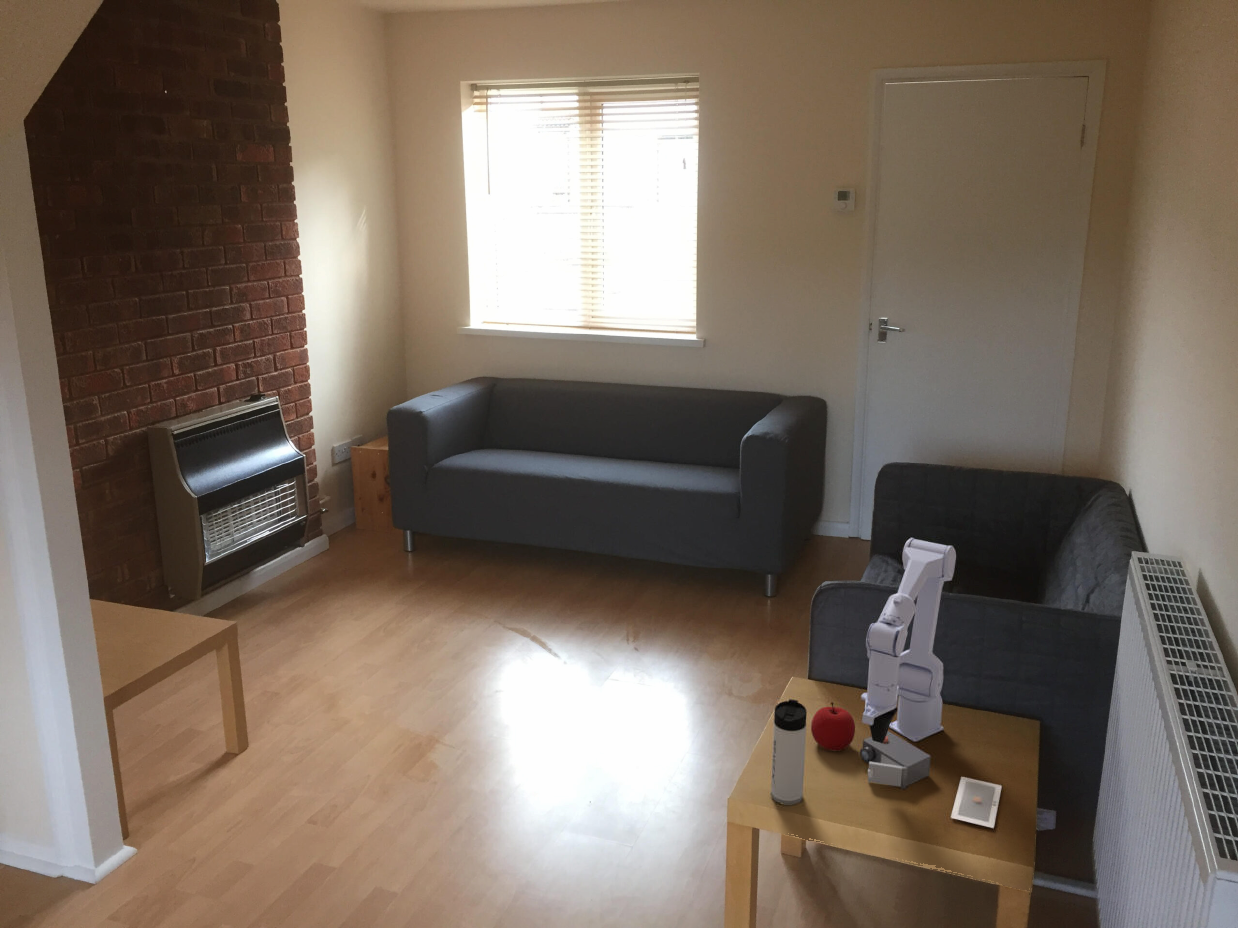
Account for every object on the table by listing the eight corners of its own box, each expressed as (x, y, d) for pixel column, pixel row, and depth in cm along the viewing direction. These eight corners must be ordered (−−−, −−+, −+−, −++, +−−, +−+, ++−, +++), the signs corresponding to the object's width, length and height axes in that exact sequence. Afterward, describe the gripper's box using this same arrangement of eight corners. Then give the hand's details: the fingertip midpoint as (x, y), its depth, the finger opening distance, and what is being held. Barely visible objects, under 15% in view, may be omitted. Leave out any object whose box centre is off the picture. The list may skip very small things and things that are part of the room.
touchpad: (950, 822, 203) (951, 812, 202) (960, 780, 216) (961, 771, 215) (993, 832, 200) (994, 822, 199) (1001, 790, 213) (1002, 780, 212)
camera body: (885, 748, 226) (886, 727, 225) (928, 775, 217) (930, 753, 215) (855, 761, 222) (857, 739, 220) (899, 789, 212) (901, 766, 211)
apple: (808, 753, 225) (811, 712, 222) (811, 731, 233) (813, 691, 230) (853, 759, 223) (855, 717, 220) (854, 736, 231) (857, 696, 228)
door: (905, 786, 213) (907, 766, 212) (905, 790, 212) (907, 771, 210) (867, 780, 215) (868, 760, 214) (866, 784, 214) (868, 765, 212)
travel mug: (805, 789, 212) (809, 701, 207) (799, 808, 206) (804, 718, 201) (774, 783, 214) (778, 696, 209) (767, 802, 208) (771, 712, 203)
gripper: (877, 660, 217) (873, 718, 221) (849, 689, 206) (845, 750, 210) (910, 669, 213) (905, 728, 217) (884, 699, 202) (879, 761, 206)
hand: (878, 740), depth 213 cm, fingers closed
